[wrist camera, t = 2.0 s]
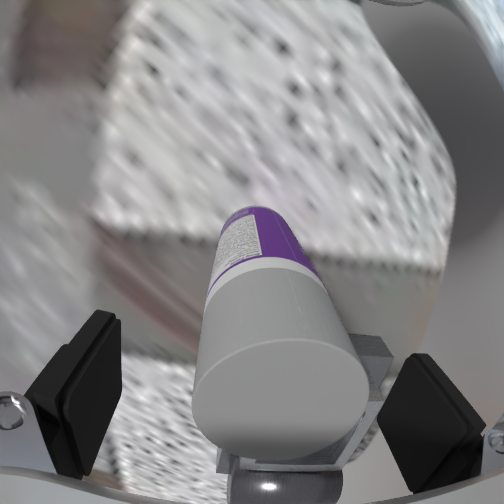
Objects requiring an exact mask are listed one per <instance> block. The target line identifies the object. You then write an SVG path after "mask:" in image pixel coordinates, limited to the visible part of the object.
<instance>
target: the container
mask: <svg viewBox="0 0 504 504" xmlns="http://www.w3.org/2000/svg"><path fill="white" fill-rule="evenodd" d="M369 390H370V388H369V380H368V377H367V374H366V372H365V370H364V368H363V365H362V363H361V361H360V359H359V357H358V355H357V353H356V350H355V348H354V346H353V344H352V342H351V340H350V338H349V336H348V334H347V332H346V330H345V328H344V325H343V323H342V321H341V319H340V317H339V315H338V313H337V311H336V309H335V307H334V305H333V303H332V301H331V299H330V297H329V295H328V293H327V291H326V289H325V287H324V285H323V283H322V281H321V280H320V278H319V276H318V274H317V273H316V271H315V269H314V268H313V266H312V264H311V263H310V261H309V259H308V258H307V256H306V254H305V252H304V251H303V249H302V247H301V246H300V244H299V243H298V241H297V239H296V238H295V236H294V234H293V233H292V231H291V229H290V228H289V226H288V224H287V223H286V221H285V220H284V219H283V218H282V217H281V216H280V215H279V214H278V213H277V212H275V211H274V210H272V209H270V208H267V207H263V206H249V207H245V208H242V209H240V210H238V211H236V212H235V213H234V214H232V215H231V216H230V217H229V218H228V220H227V221H226V222H225V224H224V226H223V229H222V231H221V235H220V239H219V244H218V248H217V253H216V257H215V261H214V266H213V270H212V275H211V279H210V284H209V289H208V293H207V298H206V303H205V308H204V315H203V322H202V329H201V336H200V343H199V350H198V357H197V365H196V372H195V380H194V387H193V395H192V414H193V418H194V420H195V423H196V425H197V427H198V428H199V430H200V431H201V432H202V434H203V435H204V436H205V437H206V438H207V439H208V440H209V441H211V442H212V443H213V444H215V445H216V446H217V447H219V448H221V449H223V450H225V451H227V452H229V453H231V454H234V455H237V456H240V457H244V458H249V459H255V460H266V461H274V460H286V459H293V458H298V457H302V456H306V455H309V454H312V453H314V452H317V451H320V450H322V449H324V448H326V447H328V446H330V445H331V444H333V443H335V442H336V441H338V440H339V439H341V438H342V437H343V436H344V435H346V434H347V433H348V432H349V431H350V430H351V429H352V428H353V427H354V426H355V425H356V423H357V422H358V421H359V419H360V418H361V416H362V414H363V413H364V411H365V408H366V406H367V403H368V398H369Z"/></svg>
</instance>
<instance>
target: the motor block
mask: <svg viewBox="0 0 504 504" xmlns="http://www.w3.org/2000/svg"><path fill="white" fill-rule="evenodd" d="M348 336H349V338H350V340H351V342H352V344H353V346H354V348H355V350H356V353H357V355H358V357H359V359H360V361H361V363H362V365H363V368H364V370H365V372H366V374H367V377H368V380H369V388H370V390H369V398H368V403H367V406H366V408H365V411H364V413H363V414H362V416H361V418H360V419H359V421H358V422H357V423H356V425H355V426H354V427H353V428H352V429H351V430H350V431H349V432H348V433H347V434H346V435H344V436H343V437H342V438H341V439H339V440H338V441H336V442H335V443H333V444H331V445H330V446H328V447H326V448H324V449H322V450H320V451H317V452H314V453H312V454H309V455H306V456H302V457H298V458H293V459H286V460H274V461H266V460H255V459H249V458H244V457H240V456H237V455H234V454H231V453H229V452H227V451H225V450H223V449H221V448H219V447H218V449H217V463H216V473H222V474H228V480H227V503H228V504H336V503H337V501H338V500H339V498H340V495H341V491H342V486H343V473H342V468H343V467H344V465H345V464H346V463H347V461H348V460H349V458H350V457H351V455H352V454H353V452H354V451H355V449H356V448H357V446H358V445H359V443H360V442H361V440H362V438H363V437H364V435H365V434H366V432H367V431H368V429H369V427H370V426H371V424H372V422H373V421H374V419H375V417H376V416H377V414H378V412H379V411H380V409H381V407H382V405H383V404H384V402H385V401H384V399H383V397H382V395H381V393H380V391H379V387H380V385H381V383H382V381H383V379H384V377H385V375H386V373H387V371H388V369H389V367H390V365H391V363H392V360H393V358H394V357H393V355H392V354H391V352H390V351H389V349H388V348H387V346H386V345H385V343H384V342H383V340H382V339H381V337H378V336H367V335H357V334H348Z"/></svg>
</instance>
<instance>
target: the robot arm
mask: <svg viewBox="0 0 504 504" xmlns="http://www.w3.org/2000/svg"><path fill="white" fill-rule="evenodd" d="M370 1H374V2H378V3H381V4H386V5H393V6H413V5H416V4H421V3H423V2H425V1H427V0H370ZM121 393H122V370H121V321H120V319H116V316H115V314H114V313H110V312H106V311H102V310H96V311H95V312H94V313H93V314H92V315H91V317H90V318H89V319H88V320H87V322H86V323H85V324H84V325H83V326H82V328H81V329H80V330H79V331H78V333H77V334H76V335H75V336H74V338H73V339H72V340H71V341H70V343H69V344H64V345H63V346H61V347H60V349H59V350H58V351H57V352H56V354H55V355H54V356H53V357H52V359H51V360H50V361H49V363H48V364H47V365H46V366H45V368H44V369H43V370H42V372H41V373H40V374H39V376H38V377H37V378H36V380H35V381H34V382H33V383H32V385H31V386H30V388H29V389H28V390H27V392H26V393H25V394H24V396H22V395H20V394H18V393H14V392H0V504H188V503H181V502H175V501H169V500H163V499H157V498H152V497H147V496H142V495H137V494H133V493H128V492H124V491H120V490H116V489H112V488H108V487H105V486H100V485H96V484H92V483H89V482H85V481H81V480H82V477H83V475H85V476H89V474H90V472H91V470H92V467H93V465H94V462H95V459H96V457H97V454H98V451H99V449H100V446H101V444H102V441H103V439H104V436H105V434H106V431H107V429H108V426H109V424H110V421H111V419H112V416H113V414H114V411H115V409H116V407H117V404H118V402H119V399H120V397H121ZM377 422H378V425H379V427H380V429H381V431H382V433H383V435H384V437H385V439H386V442H387V443H388V445H389V448H390V450H391V452H392V454H393V456H394V459H395V460H396V463H397V465H398V467H399V469H400V471H401V474H402V476H403V478H404V480H405V482H406V485H407V487H408V489H409V490H410V491H411V492H413V495H409V496H405V497H400V498H394V499H390V500H384V501H378V502H372V503H365V504H504V432H502V431H500V430H496V429H493V430H489V431H487V432H486V433H485V434H484V436H483V437H482V436H481V434H480V433H481V432H482V431H483V429H484V428H485V427H486V424H485V422H484V421H483V420H482V419H481V417H480V416H479V415H478V413H477V412H476V411H475V410H474V409H473V407H472V406H471V405H470V403H469V402H468V401H467V400H466V398H465V397H464V396H463V395H462V394H461V392H460V391H459V390H458V389H457V388H456V386H455V385H454V384H453V383H452V381H451V380H450V379H449V378H448V377H447V375H446V374H445V373H444V372H443V371H442V370H441V368H440V367H439V366H438V365H437V364H436V362H435V361H434V360H433V359H432V358H431V357H430V356H429V355H428V354H420V353H413V354H412V355H410V357H408V358H407V359H406V360H405V362H404V364H403V366H402V369H401V371H400V373H399V375H398V377H397V379H396V381H395V383H394V385H393V387H392V389H391V391H390V393H389V395H388V396H387V398H386V400H385V402H384V404H383V406H382V408H381V410H380V411H379V413H378V416H377Z"/></svg>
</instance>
